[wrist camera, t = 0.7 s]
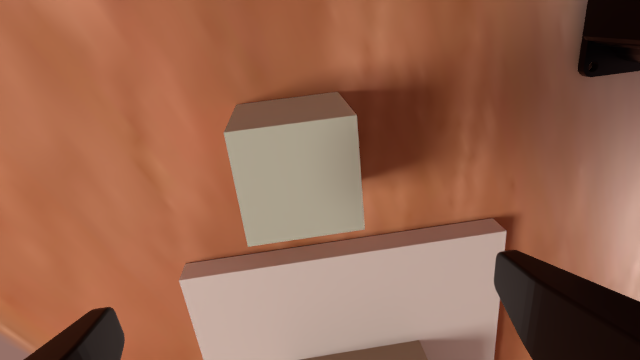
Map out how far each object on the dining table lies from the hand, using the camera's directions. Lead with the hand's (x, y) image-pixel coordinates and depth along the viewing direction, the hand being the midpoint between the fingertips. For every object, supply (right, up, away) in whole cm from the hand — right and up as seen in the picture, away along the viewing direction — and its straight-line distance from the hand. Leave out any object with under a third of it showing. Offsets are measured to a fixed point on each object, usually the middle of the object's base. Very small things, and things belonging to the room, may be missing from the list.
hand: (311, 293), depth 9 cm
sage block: (-1, +4, +11) cm, 12 cm away
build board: (+2, -9, +17) cm, 19 cm away
